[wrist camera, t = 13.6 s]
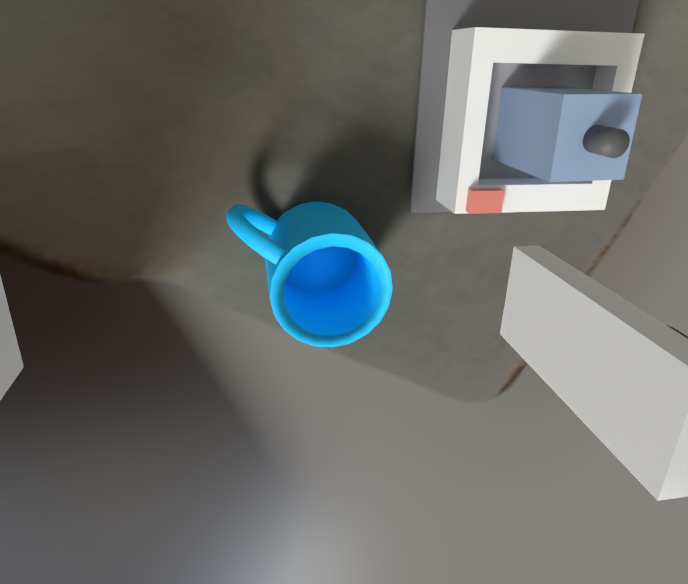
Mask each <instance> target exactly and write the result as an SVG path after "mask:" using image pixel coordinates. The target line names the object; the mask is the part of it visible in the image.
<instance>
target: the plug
mask: <svg viewBox="0 0 688 584" xmlns="http://www.w3.org/2000/svg"><path fill="white" fill-rule="evenodd" d="M641 97H642V94H638V93H627V92H616V91H605V90H594V89H583V88H572V87H501V93H500V102H499V110H498V119H497V128H496V136H495V145H494V154H493V160H496V161H498V162H501V163H503V164H506V165H508V166H511V167H513V168H516V169H518V170H520V171H523V172H525V173H528V174H530V175H533V176H535V177H538V178H540V179H543V180H545V181H548V182H570V181H597V180H623V179H624V175H625V171H626V166H627V162H628V157H629V152H630V148H631V143H632V139H633V134H634V129H635V125H636V120H637V116H638V111H639V106H640V102H641Z"/></svg>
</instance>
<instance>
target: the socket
mask: <svg viewBox="0 0 688 584" xmlns="http://www.w3.org/2000/svg"><path fill="white" fill-rule="evenodd" d="M638 3H639V0H425V6H424V20H423V33H422V46H421V60H420V73H419V86H418V100H417V113H416V126H415V140H414V153H413V166H412V179H411V193H410V206H409V212H410V213H437V212H453V213H454V214H460V213H470V214H474V213H502V212H538V211H576V210H605V206H606V202H607V197H608V193H609V188H610V184H611V180H597V181H570V182H548V181H545V180H543V179H540V178H538V177H535V176H533V175H530V174H528V173H525V172H523V171H520V170H518V169H516V168H513V167H511V166H508V165H506V164H503V163H501V162H498V161H496V160H493V154H494V145H495V136H496V128H497V119H498V110H499V102H500V93H501V87H572V88H583V89H594V90H605V91H616V92H627V93H631V91H632V87H633V82H634V78H635V74H636V69H637V65H638V60H639V56H640V52H641V47H642V43H643V38H644V34H638V33H632V31H633V26H634V22H635V17H636V12H637V8H638Z"/></svg>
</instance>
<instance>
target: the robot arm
mask: <svg viewBox="0 0 688 584" xmlns="http://www.w3.org/2000/svg"><path fill="white" fill-rule="evenodd" d="M500 335H501V336H502V337H503V338H504V339H505V340H506V341H507V342H508V343H509V344H510V345H511V346H512V347H513V348H514V349H515V350H516V351H517V352H518V354H519V355H520V356H521V357H522V358H523V359H524V360H525V361H526V362H527V363H528V364H529V365H530V366H531V367H532V368H533V369H534V370H535V372H536V373H537V374H538V375H539V376H540V377H541V378H542V379H543V380H544V381H545V382H546V383H547V384H548V385H549V386H550V387H551V388H552V389H553V391H554V392H555V393H556V394H557V395H558V396H559V397H560V398H561V399H562V400H563V401H564V402H565V403H566V404H567V405H568V406H569V407H570V408H571V410H572V411H573V412H574V413H575V414H576V415H577V416H578V417H579V418H580V419H581V420H582V421H583V422H584V423H585V424H586V425H587V427H589V429H590V430H591V431H592V432H593V433H594V434H595V435H596V436H597V437H598V438H599V439H600V440H601V441H602V442H603V443H604V444H605V446H606V447H607V448H608V449H609V450H610V451H611V452H612V453H613V454H614V455H615V456H616V457H617V458H618V459H619V460H620V461H621V463H623V465H624V466H625V467H627V469H628V470H629V471H630V472H631V473H632V474H633V475H634V476H635V477H636V478H637V479H638V480H639V481H640V483H641V484H642V485H643V486H644V487H645V488H646V489H647V490H648V491H649V492H650V493H651V494H652V495H653V496H654V497H655V498H656V500H666V499H673V498H680V497H687V496H688V337H687V336H686V335H684V334H683V333H681V332H679V331H678V330H676V329H674V328H672V327H670V326H667V325H665V324H664V323H662V322H660V321H659V320H657V319H656V318H654V317H652V316H651V315H649V314H647V313H646V312H644V311H643V310H641V309H640V308H638V307H636V306H635V305H633V304H631V303H630V302H628V301H627V300H625V299H624V298H622V297H620V296H619V295H617V294H616V293H614V292H612V291H611V290H609V289H608V288H606V287H604V286H603V285H601V284H600V283H598V282H596V281H595V280H593V279H592V278H590V277H588V276H587V275H585V274H584V273H582V272H580V271H579V270H577V269H576V268H574V267H573V266H571V265H569V264H568V263H566V262H565V261H563V260H561V259H560V258H558V257H557V256H555V255H553V254H552V253H550V252H549V251H547V250H545V249H544V248H542V247H541V246H518V247H514V250H513V256H512V262H511V269H510V275H509V281H508V287H507V293H506V300H505V306H504V312H503V318H502V325H501V331H500ZM22 368H23V363H22V359H21V355H20V351H19V347H18V343H17V339H16V335H15V331H14V328H13V323H12V320H11V315H10V312H9V308H8V304H7V300H6V296H5V292H4V288H3V284H2V280H1V276H0V400H1V399H2V397H3V396H4V394H5V393H6V391H7V390H8V389H9V387H10V386H11V384H12V383H13V381H14V380H15V379H16V377H17V376H18V374H19V373H20V371H21V370H22Z"/></svg>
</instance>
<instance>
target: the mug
mask: <svg viewBox="0 0 688 584" xmlns="http://www.w3.org/2000/svg"><path fill="white" fill-rule="evenodd" d="M226 219H227V222H228V224H229V226H230V228H231V229H232V230H233V231H234V232H235V234H236V235H237V236H238V237H239V238H240V239H242V240H243V241H244V242H245V243H246V244H247V245H248V246H250V247H251V248H252V249H253V250H255V251H256V252H258V253H259V254H260V255H262V256H263V257H264V258H265V265H266V273H267V280H268V288H269V296H270V301H271V305H272V309H273V313H274V316H275V317H276V319H277V320H278V322H279V323H280V325H281V326H282V328H283V329H284V330H285V331H286V332H287V333H289V334H290V335H291V336H293V337H294V338H295V339H297V340H298V341H301V342H304V343H307V344H309V345H312V346H319V347H336V346H340V345H345V344H349V343H352V342H354V341H356V340H357V339H359V338H361V337H363V336H365V335H367V334H368V333H369V332H370V331H371V330H372V329H373V328H374V327H375V326H376V325H377V324H378V323H379V322H380V321H381V319H382V318H383V316H384V314H385V312H386V311H387V309H388V307H389V304H390V299H391V294H392V290H393V287H392V279H391V271H390V269H389V267H388V265H387V263H386V261H385V259H384V257H383V255H382V254H381V253H380V251H379V250H378V249H377V247H376V246H375V244H374V243H373V242H372V240H371V239H370V238H369V236H368V235H367V233H366V232H365V231H364V229H363V228H362V227H361V225H360V224H359V222H358V221H357V220H356V219H355V218H354V217H353V216H352V215H351V214H350V213H349V212H348V211H347V210H345V209H343V208H341V207H339V206H336V205H334V204H332V203H325V202H316V201H314V202H309V203H304V204H299V205H297V206H295V207H294V208H292V209H290V210H288V211H286V212H284V213H283V214H282V215H281V216H280V218H279V219H278V220H277V221H276V220H275V219H273V218H271V217H269V216H267V215H266V214H264V213H262V212H260V211H258V210H255V209H253V208H250V207H248V206H243V205H235V206H233V207H232V208H231V209H230V210H229V211H228V212H227V215H226ZM258 229H259V230H262V231H264V232H265V233H267V234H268V236H266V235H264V234H263V233H262V232H261V231H259V230H258Z"/></svg>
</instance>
